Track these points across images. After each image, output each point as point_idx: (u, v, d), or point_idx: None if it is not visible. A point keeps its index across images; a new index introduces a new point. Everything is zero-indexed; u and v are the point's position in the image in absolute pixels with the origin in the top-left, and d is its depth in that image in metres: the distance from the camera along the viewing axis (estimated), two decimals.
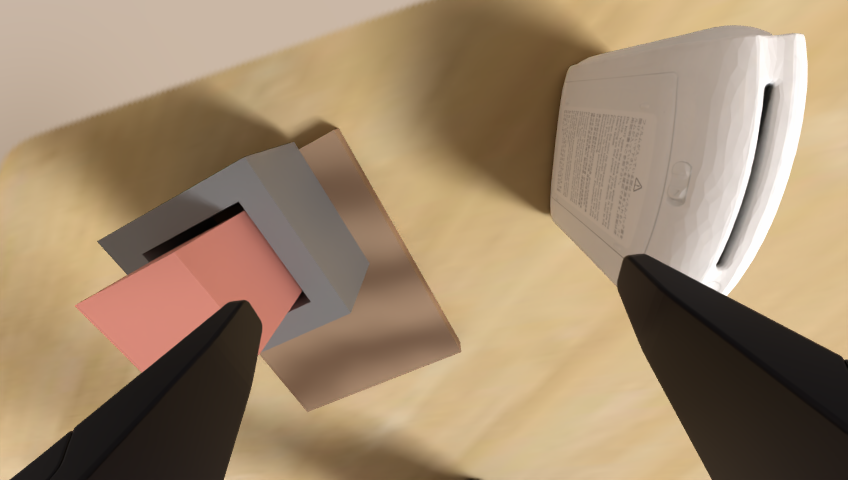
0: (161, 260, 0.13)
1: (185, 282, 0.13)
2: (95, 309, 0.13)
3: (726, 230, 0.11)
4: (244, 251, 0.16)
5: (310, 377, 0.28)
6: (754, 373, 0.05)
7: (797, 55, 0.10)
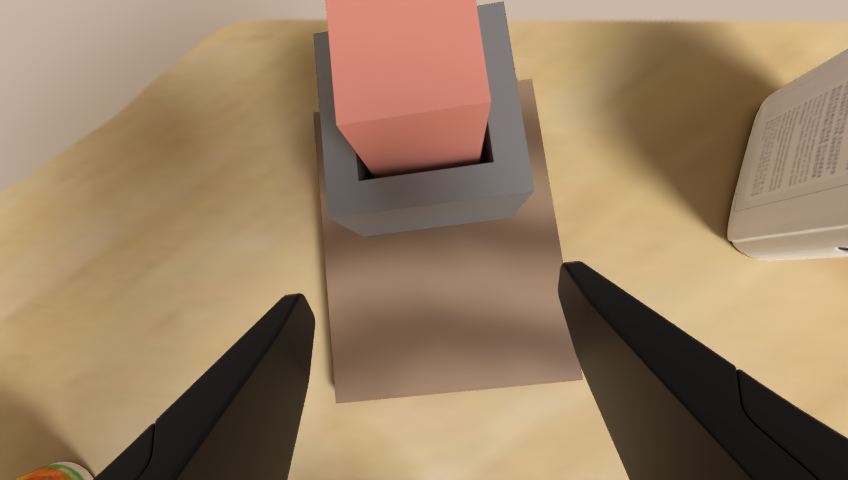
0: None
1: None
2: None
3: None
4: None
5: (369, 347, 0.21)
6: (654, 382, 0.05)
7: None
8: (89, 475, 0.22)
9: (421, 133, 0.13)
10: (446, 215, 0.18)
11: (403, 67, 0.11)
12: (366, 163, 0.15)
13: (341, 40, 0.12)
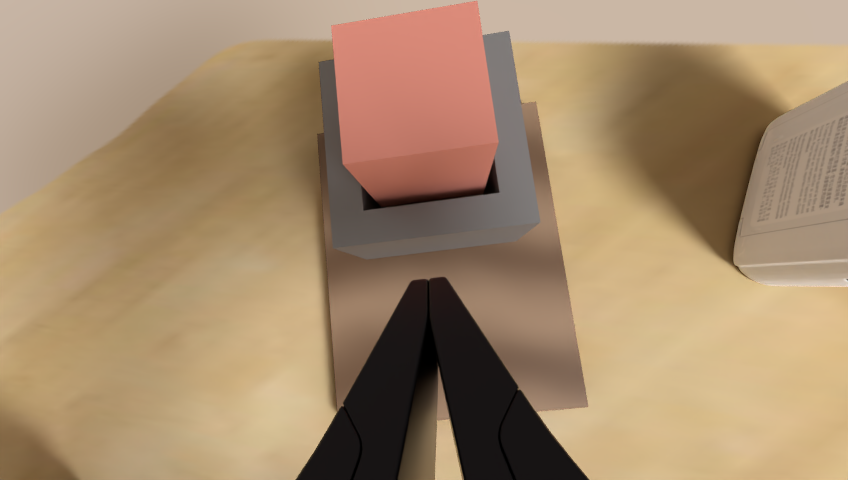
0: (457, 5, 0.12)
1: (467, 33, 0.12)
2: (350, 35, 0.12)
3: None
4: None
5: None
6: None
7: None
8: None
9: (427, 168, 0.13)
10: (450, 242, 0.18)
11: (410, 106, 0.11)
12: (371, 194, 0.15)
13: (348, 78, 0.12)
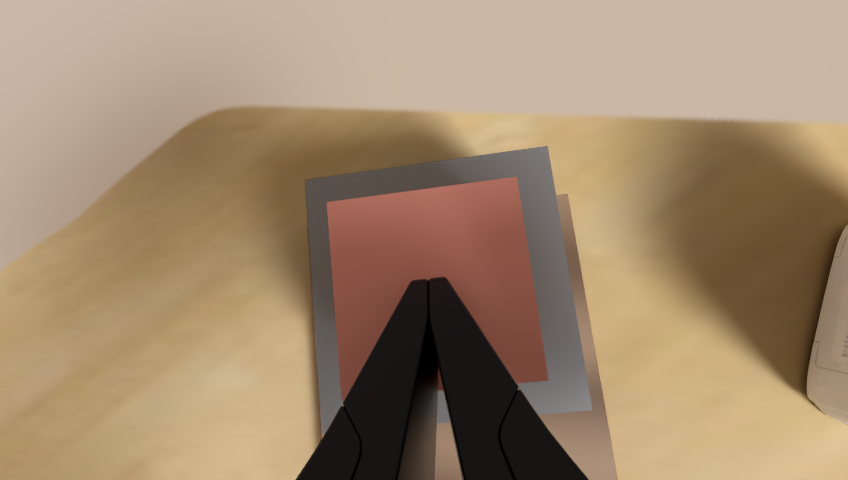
0: (491, 181, 0.09)
1: (505, 221, 0.09)
2: (351, 217, 0.09)
3: None
4: None
5: None
6: None
7: None
8: None
9: None
10: None
11: None
12: None
13: (348, 277, 0.09)
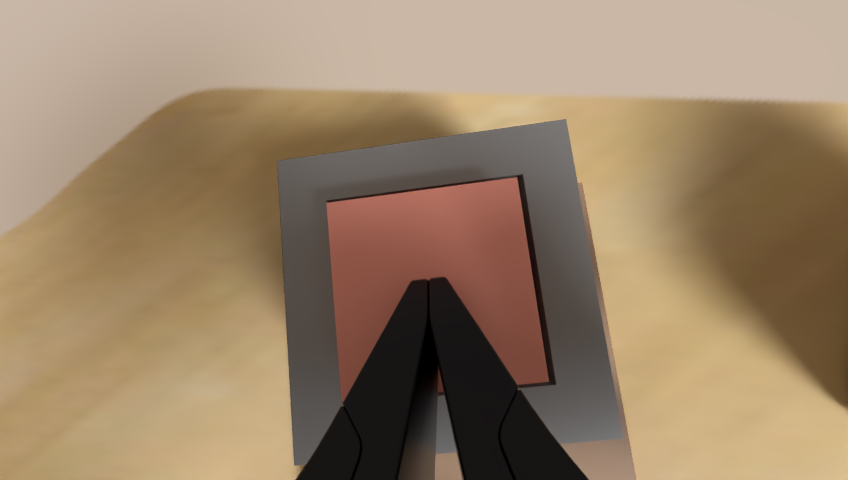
0: (491, 182, 0.09)
1: (505, 222, 0.09)
2: (351, 218, 0.09)
3: None
4: None
5: None
6: None
7: None
8: None
9: None
10: None
11: None
12: None
13: (348, 278, 0.09)
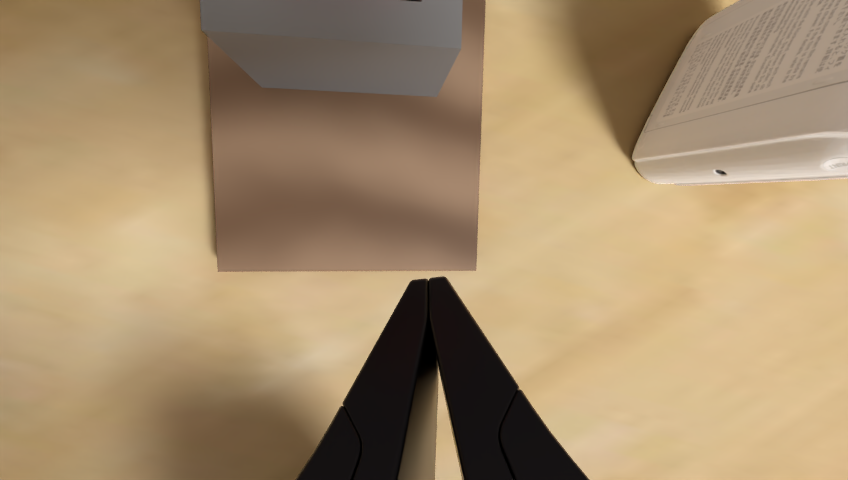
0: None
1: None
2: None
3: None
4: None
5: (261, 216, 0.18)
6: None
7: None
8: None
9: None
10: (361, 70, 0.15)
11: None
12: None
13: None
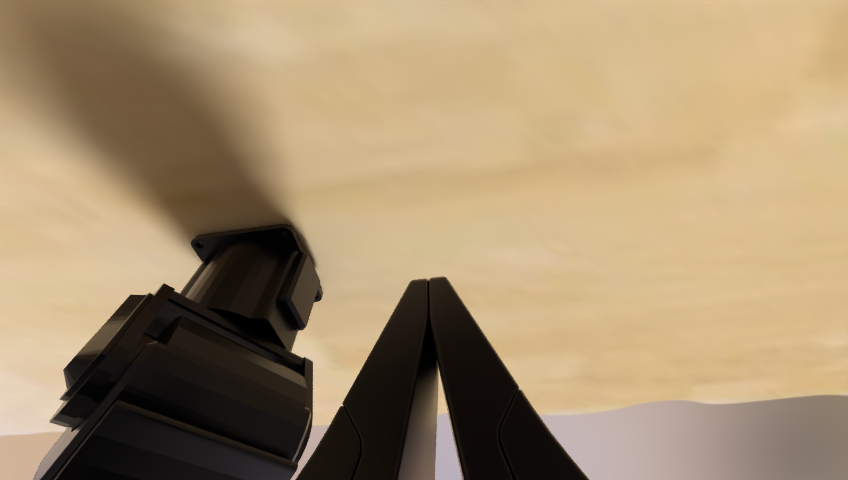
0: None
1: None
2: None
3: None
4: None
5: None
6: None
7: None
8: None
9: None
10: None
11: None
12: None
13: None
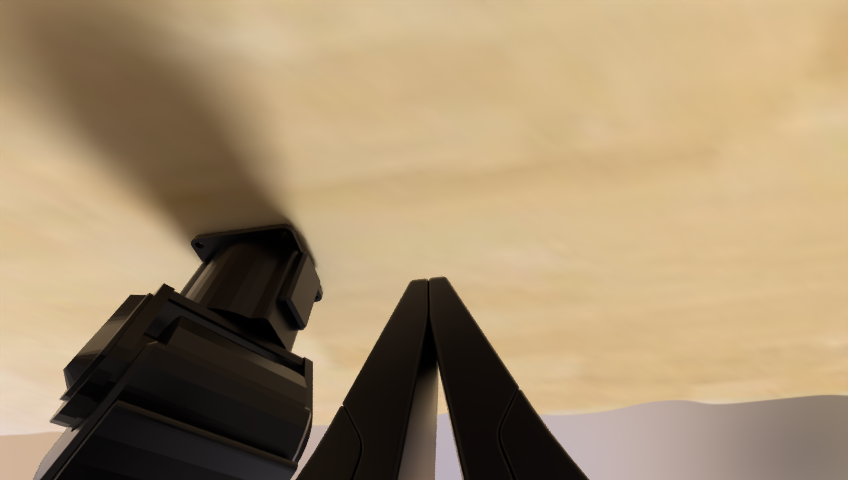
0: None
1: None
2: None
3: None
4: None
5: None
6: None
7: None
8: None
9: None
10: None
11: None
12: None
13: None
